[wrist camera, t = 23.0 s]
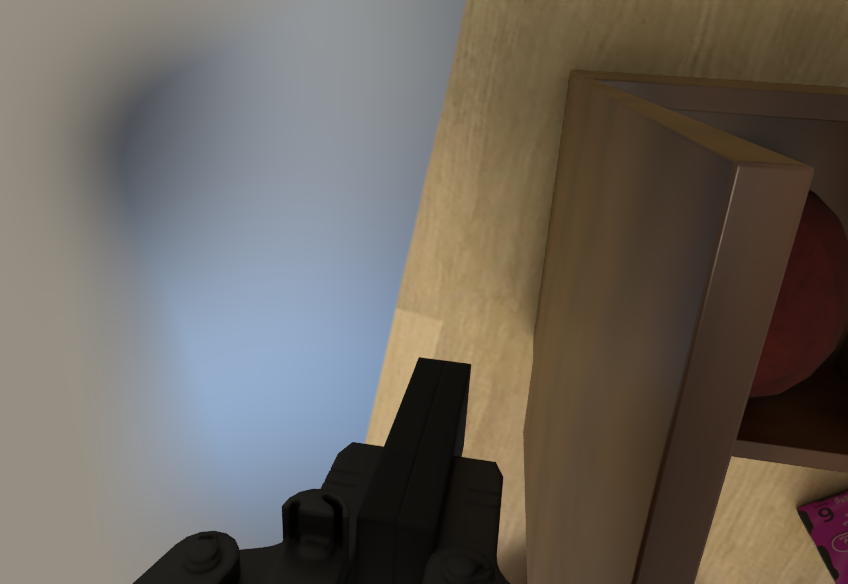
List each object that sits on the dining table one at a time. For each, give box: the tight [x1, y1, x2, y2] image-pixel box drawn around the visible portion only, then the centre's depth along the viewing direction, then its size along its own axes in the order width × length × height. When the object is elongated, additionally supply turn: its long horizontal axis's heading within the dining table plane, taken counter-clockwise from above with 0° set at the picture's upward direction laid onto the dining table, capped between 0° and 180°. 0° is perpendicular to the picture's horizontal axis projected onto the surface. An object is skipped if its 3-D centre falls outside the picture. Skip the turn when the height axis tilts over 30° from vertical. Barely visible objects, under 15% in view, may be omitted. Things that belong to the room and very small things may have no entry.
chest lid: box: [523, 78, 814, 584], centre depth 19 cm, size 20×17×1 cm
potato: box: [748, 190, 848, 399], centre depth 32 cm, size 12×11×8 cm
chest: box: [533, 70, 848, 473], centre depth 32 cm, size 19×17×10 cm
